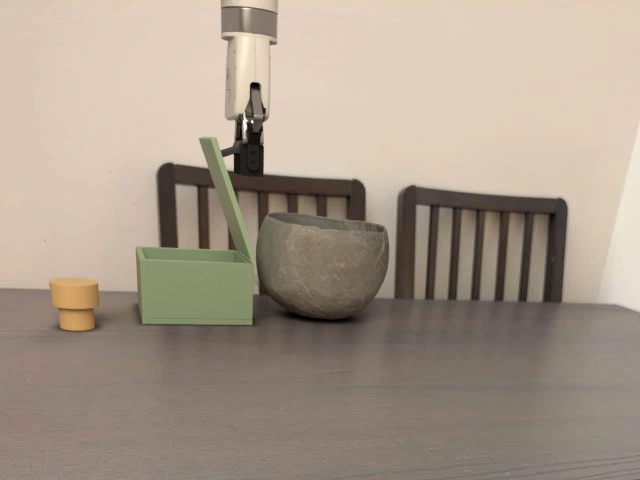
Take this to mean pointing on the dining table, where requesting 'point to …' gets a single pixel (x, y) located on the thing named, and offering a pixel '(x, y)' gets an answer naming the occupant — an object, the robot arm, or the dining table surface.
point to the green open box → (194, 286)
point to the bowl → (321, 263)
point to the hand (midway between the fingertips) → (248, 173)
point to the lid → (227, 192)
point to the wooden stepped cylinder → (75, 302)
